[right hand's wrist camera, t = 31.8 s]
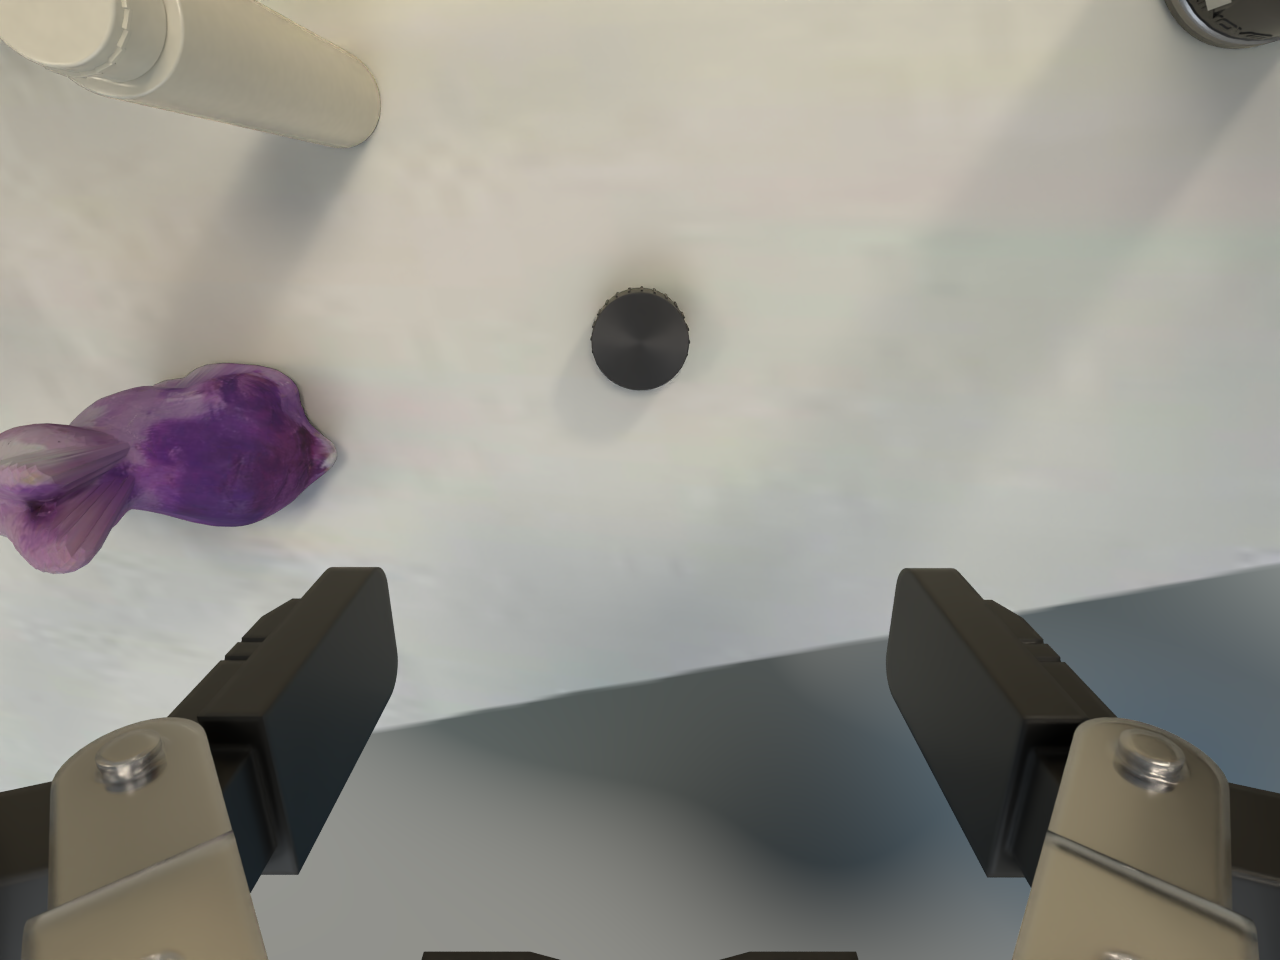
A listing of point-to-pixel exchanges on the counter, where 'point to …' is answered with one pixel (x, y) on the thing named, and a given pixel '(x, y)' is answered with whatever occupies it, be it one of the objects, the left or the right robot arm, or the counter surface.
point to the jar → (202, 63)
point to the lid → (640, 339)
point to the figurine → (159, 461)
